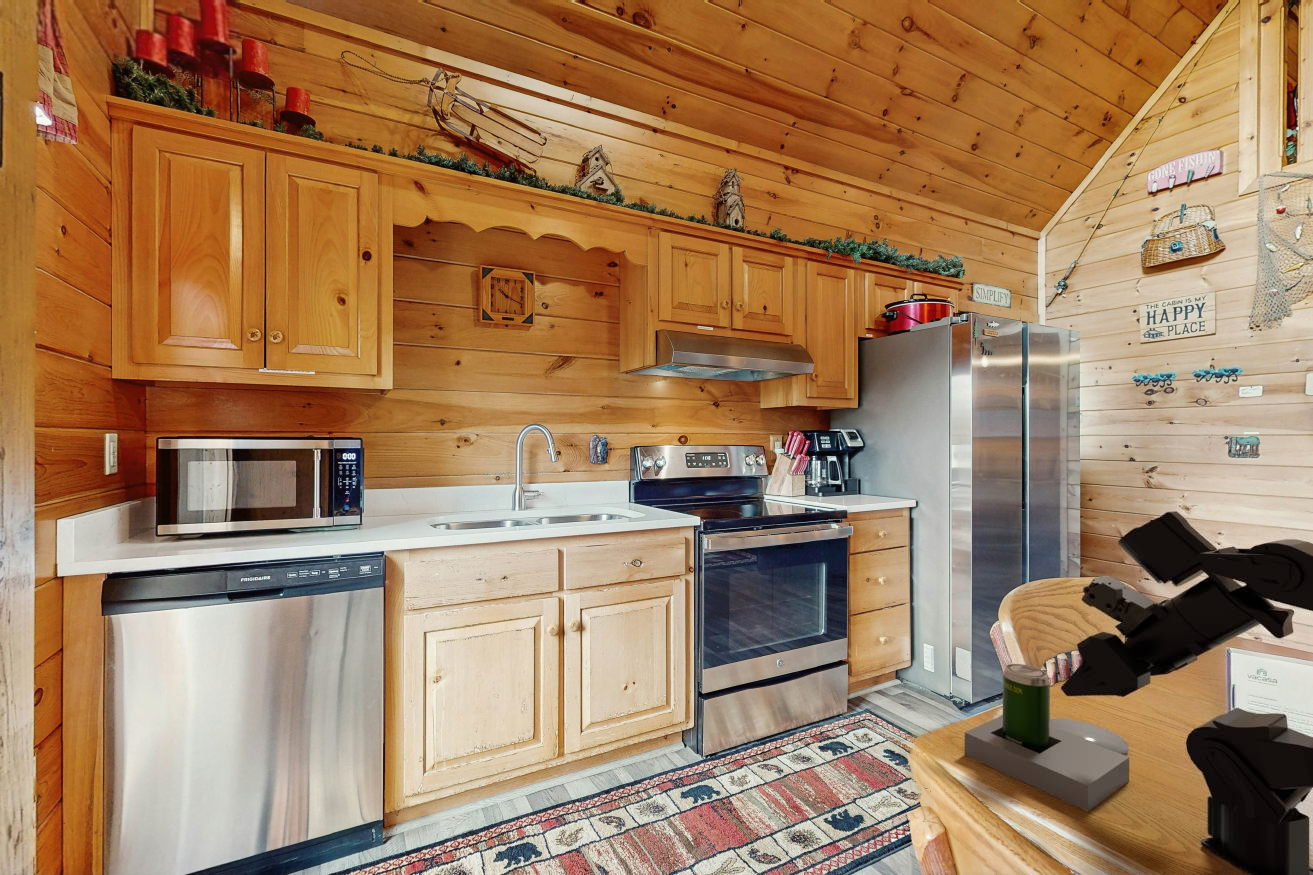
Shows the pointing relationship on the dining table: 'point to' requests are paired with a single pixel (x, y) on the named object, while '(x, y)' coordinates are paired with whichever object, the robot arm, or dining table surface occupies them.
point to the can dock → (1052, 764)
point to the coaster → (1091, 734)
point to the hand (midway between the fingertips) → (1081, 684)
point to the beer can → (1026, 707)
